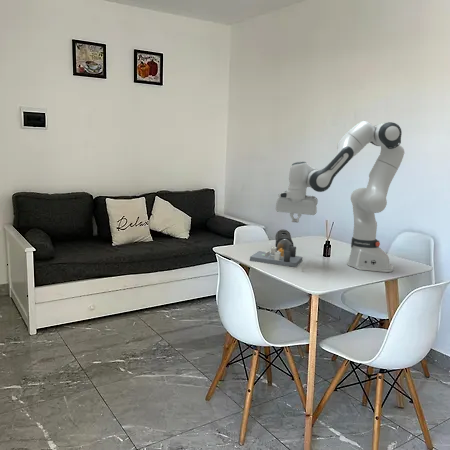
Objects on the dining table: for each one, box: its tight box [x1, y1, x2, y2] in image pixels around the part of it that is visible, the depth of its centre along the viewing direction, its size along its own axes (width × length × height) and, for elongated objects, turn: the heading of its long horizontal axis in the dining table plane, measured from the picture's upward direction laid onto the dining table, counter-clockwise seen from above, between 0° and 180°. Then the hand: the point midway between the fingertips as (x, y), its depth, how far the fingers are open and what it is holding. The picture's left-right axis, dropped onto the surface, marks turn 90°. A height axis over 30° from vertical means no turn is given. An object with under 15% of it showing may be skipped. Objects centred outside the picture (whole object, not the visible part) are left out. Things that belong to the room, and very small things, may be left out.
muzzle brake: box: [274, 229, 295, 251], centre depth 254 cm, size 10×28×10 cm, turn 174°
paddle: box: [278, 248, 284, 257], centre depth 235 cm, size 2×4×4 cm, turn 157°
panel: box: [249, 245, 304, 268], centre depth 236 cm, size 24×14×7 cm, turn 67°
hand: (295, 222), depth 229 cm, fingers closed
